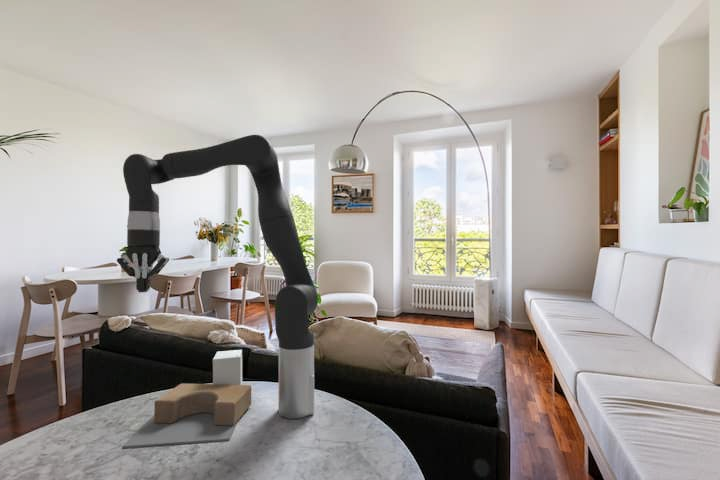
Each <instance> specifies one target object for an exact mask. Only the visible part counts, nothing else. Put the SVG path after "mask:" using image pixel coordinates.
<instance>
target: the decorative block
mask: <svg viewBox="0 0 720 480" xmlns="http://www.w3.org/2000/svg"><path fill="white" fill-rule="evenodd" d="M251 406H252V386H251V384H250V385H249V384H242V385H223V384H213V383H211V384H210V383H182V382H181V383H180V384H178V385H176V386H175V387H174V388H172V389H171V390H169V391H168V392H167V393H165V394H163V395H161V396H160V397H159V398H157V399H156V400H155V401H154V411H153V415H154V422H155V423H164V424H172V423H174V422H176V421H177V420H179V419H181V418H184V417H187V416H190V415H194V414H198V413H209V414H214V415H215V425H222V426H233V425H234V424H235V423H236V422H237V421H238V419H239V420H240V418H241V417H242V415H244V413H245V412H246V411H247V410H248V409H249V407H251ZM238 422H239V421H238Z"/></svg>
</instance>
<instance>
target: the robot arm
mask: <svg viewBox="0 0 720 480" xmlns="http://www.w3.org/2000/svg"><path fill="white" fill-rule="evenodd" d="M227 166H246V168H247V169H248V170H249V172H250V174H251V177H252V179H253V182H254V184H255V188H256V192H257V202H258V204H257V209H258V210H257V211H258V213H257V214H258V222H259V226H260V230H261V233H262V238H263V240H264V242H265V245H266V247H267V248H268V250H269V252H270V253H271V255H272V257H273V258H274V259H275V260H276V262H277V263H278V265H279V266H280V267H279V268H281V271H282V273H283V277H284V281H285V284H286V285H285V286H283V287H282V288H281V289H280V290H278V292H277V294H276V296H275V301H274V321H275V322H274V323H275V334H276V338H277V340H278V414H279V416H280V417H283V418H285V419H291V420H294V419H302V418H305V417H308V416H313V415H315V335H314V333H313V332H312V330H310V329H309V316H310V315H311V314H313V313H314V312H315V311H316V309H317V307H318V305H319V304H318V303H319V295H318V292H317V289H316V286H315V284H314V281H313V278H312V276H311V274H310V271H309V269H308V265H307V263H306V260H305V256H304V253H303V247H302V245H301V242H300V237H299V234H298V230H297V226H296V222H295V219H294V215H293V211H292V209H291V206H290V204H289V203H290V202H289V200H288V197H287V195H286V192H285V190H284V188H283V183H282V179H281V177H282V176H281V174H280V166H279V160H278V154H277V152H276V150H275V149H274V147H273V144H271V142H270V141H269V140H268V139H267V138H266V137H264V135H263V136H262V135H260V134H250V135H246V136H243V137H239V138H237V139H236V138H234V139H233V140H229V141H226V142H222V143H219V144H216V145H212V146H211V145H210V146H208V147H202V148H198V149H197V148H196V149H191V150H190V149H189V150H184V151H175V152H169V153H166V154H164V155H163V156H162V158H161V159H152V158H151V157H148V156H145V155H144V154H142V153H133V154H131V155H129V156H128V157H127V158H125V160H124V162H123V167H122V173H123V178H124V182H125V183H124V184H125V187H126V191H127V193H128V194H127V195H128V197H129V198H128V215H127V216H128V217H127V225H126V228H127V230H126V231H127V233H126V236H127V238H126V239H127V241H126V244H127V249H126V251H125V254H124V255H123V256H122V257H118V258H116V262H117V263H118V265H119V266H120V267H121V268H122V269H123V270H124V272H125V273H126V274H127V275H128V276H129V277H133V278H135V280H136V281H135V282H136V288H135V289H136V290H137V291H138V293H147V292H148V291H149V290H150V289H151V278H152V277H155V276H157V275H159V273H160V272H161V271H162V270H163V268H165V266H167V264H168V262H169V261H170V258H169V257H165V256H164V255H162V250H161V249H160V241H161V240H160V239H161V238H160V237H161V235H160V234H161V221H160V220H161V219H160V198H159V194H158V193H157V192H156V191H154V190H153V186H152V185H159V184H164V183H167V182H170V181H174V180H175V179H183V178H190V177H197V176H202V175H204V174H208V173H210V172H212V171H213V170H215V169H218V168H219V169H220V168H222V167H227ZM155 262H156V264H155ZM131 263H132V264H131ZM154 264H155V265H154Z"/></svg>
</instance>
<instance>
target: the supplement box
mask: <svg viewBox="0 0 720 480" xmlns="http://www.w3.org/2000/svg"><path fill="white" fill-rule="evenodd" d="M212 384H223V385H243V349H233V350H223V351H222V350H221V351H219V350H218V351H216V353H215V355H214V357H213V358H212Z"/></svg>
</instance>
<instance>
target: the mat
mask: <svg viewBox="0 0 720 480" xmlns="http://www.w3.org/2000/svg"><path fill="white" fill-rule="evenodd" d="M239 420H240V418H239V419H238V421H237V422H236V423H235V424H234V425H233V426H222V425H215V415H214V414H209V413H198V414H194V415H190V416H187V417H184V418H181V419H179V420H177V421H176V422H174V423H172V424H164V423H155V422H154V414H153V415H152V416H151V417H150V418H149V419H148V420H147V421H146V422H145V423H144V424H143V425H142V426H141V427H140V428H139V429H138V430H137V431H136V432H135V433H134V434H133V435H132V436H131V437H130V438H129V439H128V440H127V441H126V442H125V443H124V444H123V445H122V449H127V448H128V449H129V448H130V449H131V448H141V447H142V448H143V447H144V448H145V447H158V446H169V445H170V446H171V445H185V444H196V443H197V444H199V443H211V442H212V443H213V442H226V441H230V440H231V437H232V436H233V434H234V431H235V430H236V427H237V425H238V423H239Z"/></svg>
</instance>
